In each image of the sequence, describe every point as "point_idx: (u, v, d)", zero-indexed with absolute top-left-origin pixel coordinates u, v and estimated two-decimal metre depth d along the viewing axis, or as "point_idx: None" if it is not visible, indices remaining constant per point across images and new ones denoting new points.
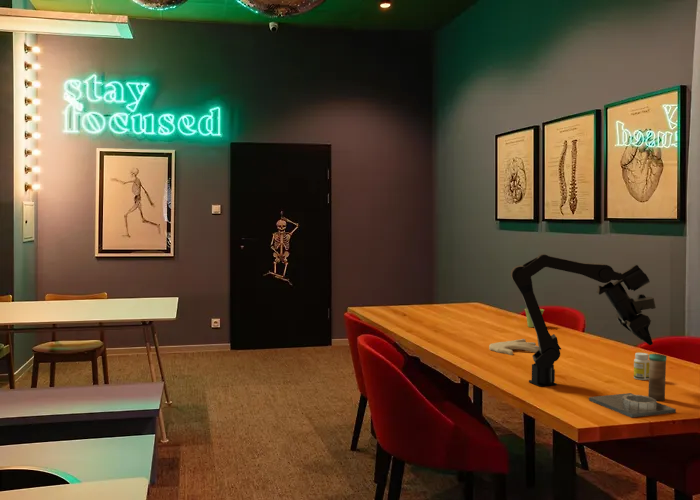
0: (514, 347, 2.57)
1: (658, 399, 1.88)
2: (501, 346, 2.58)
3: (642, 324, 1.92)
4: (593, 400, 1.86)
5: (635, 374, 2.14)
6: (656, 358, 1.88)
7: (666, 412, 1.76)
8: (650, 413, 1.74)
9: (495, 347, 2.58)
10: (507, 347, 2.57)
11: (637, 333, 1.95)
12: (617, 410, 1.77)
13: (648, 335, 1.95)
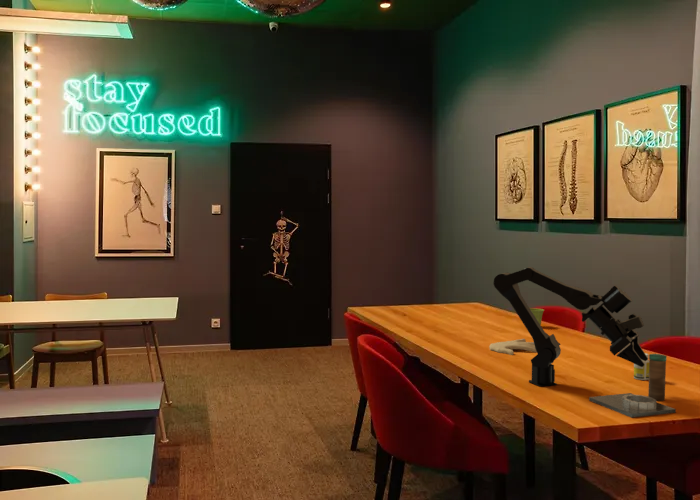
0: (514, 347, 2.57)
1: (658, 399, 1.88)
2: (501, 346, 2.58)
3: (621, 347, 1.86)
4: (593, 400, 1.86)
5: (635, 374, 2.14)
6: (656, 358, 1.88)
7: (666, 412, 1.76)
8: (650, 413, 1.74)
9: (495, 347, 2.58)
10: (507, 347, 2.57)
11: (623, 356, 1.89)
12: (617, 410, 1.77)
13: (636, 356, 1.87)
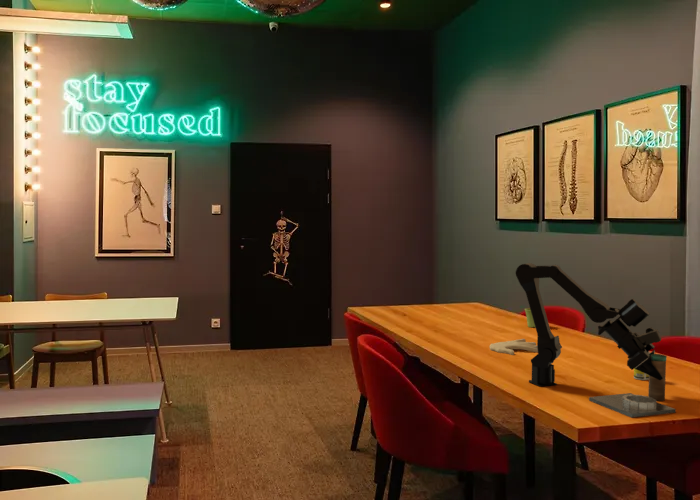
0: (515, 347, 2.57)
1: (658, 399, 1.88)
2: (502, 346, 2.58)
3: (639, 361, 1.84)
4: (593, 400, 1.86)
5: (635, 374, 2.14)
6: (656, 358, 1.88)
7: (666, 412, 1.76)
8: (650, 413, 1.74)
9: (496, 347, 2.58)
10: (508, 347, 2.57)
11: (641, 369, 1.88)
12: (617, 410, 1.77)
13: (654, 370, 1.87)
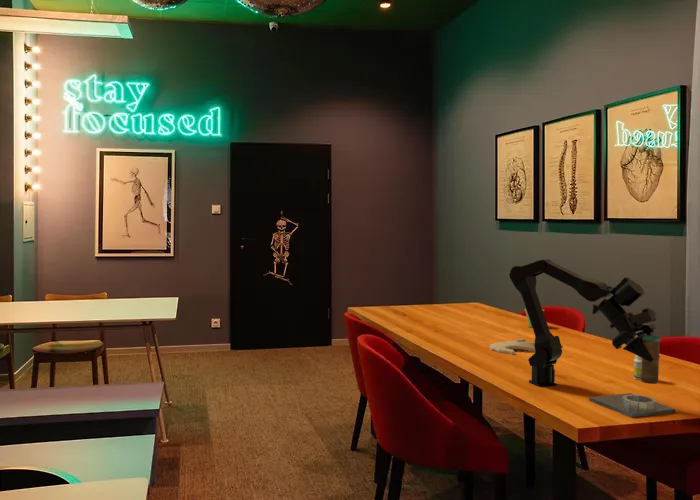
0: (515, 347, 2.58)
1: (649, 382, 1.81)
2: (502, 346, 2.58)
3: (623, 340, 1.79)
4: (593, 400, 1.86)
5: (635, 374, 2.14)
6: (647, 339, 1.81)
7: (666, 412, 1.76)
8: (650, 413, 1.74)
9: (496, 347, 2.58)
10: (508, 347, 2.57)
11: (630, 350, 1.82)
12: (617, 410, 1.77)
13: (644, 351, 1.80)
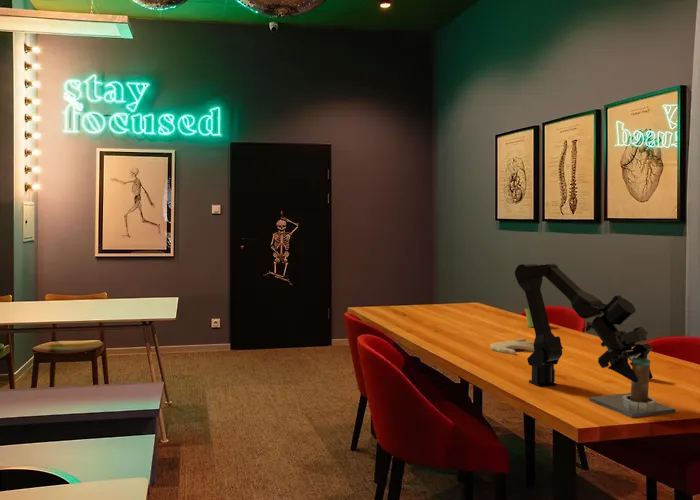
0: (516, 347, 2.58)
1: None
2: (503, 346, 2.58)
3: (607, 359, 1.77)
4: (593, 400, 1.86)
5: None
6: (636, 362, 1.78)
7: (666, 412, 1.76)
8: (650, 413, 1.74)
9: (497, 347, 2.58)
10: (509, 347, 2.57)
11: (616, 369, 1.79)
12: (617, 410, 1.77)
13: (629, 371, 1.77)
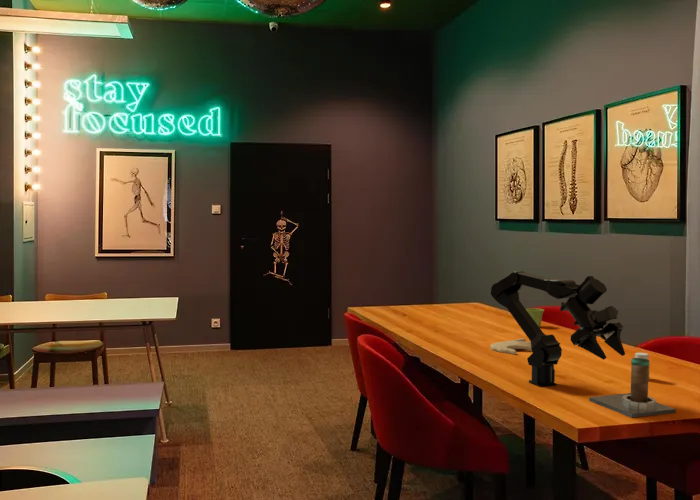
0: (516, 347, 2.58)
1: None
2: (503, 346, 2.58)
3: (579, 337, 1.84)
4: (593, 400, 1.86)
5: None
6: (634, 362, 1.78)
7: (666, 412, 1.76)
8: (650, 413, 1.74)
9: (497, 347, 2.58)
10: (509, 347, 2.58)
11: (585, 347, 1.86)
12: (617, 410, 1.77)
13: (597, 348, 1.84)
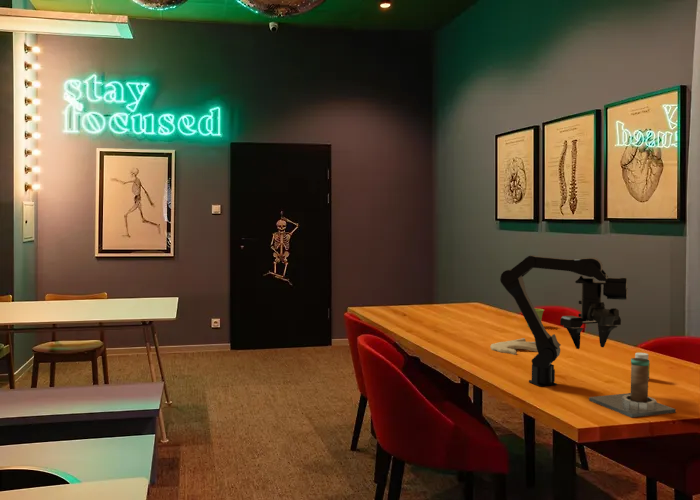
0: (516, 347, 2.58)
1: None
2: (504, 346, 2.58)
3: (566, 324, 1.96)
4: (593, 400, 1.86)
5: None
6: (634, 362, 1.78)
7: (666, 412, 1.76)
8: (650, 413, 1.74)
9: (498, 347, 2.58)
10: (510, 347, 2.58)
11: (569, 330, 2.00)
12: (617, 410, 1.77)
13: (576, 339, 1.98)
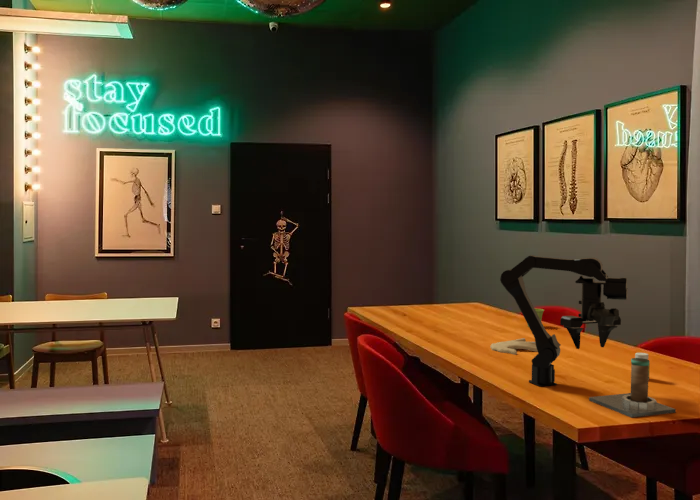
0: (516, 347, 2.58)
1: None
2: (504, 346, 2.58)
3: (566, 324, 1.96)
4: (593, 400, 1.86)
5: None
6: (635, 362, 1.78)
7: (666, 412, 1.76)
8: (650, 413, 1.74)
9: (498, 347, 2.58)
10: (510, 347, 2.58)
11: (569, 330, 2.00)
12: (617, 410, 1.77)
13: (576, 339, 1.98)
